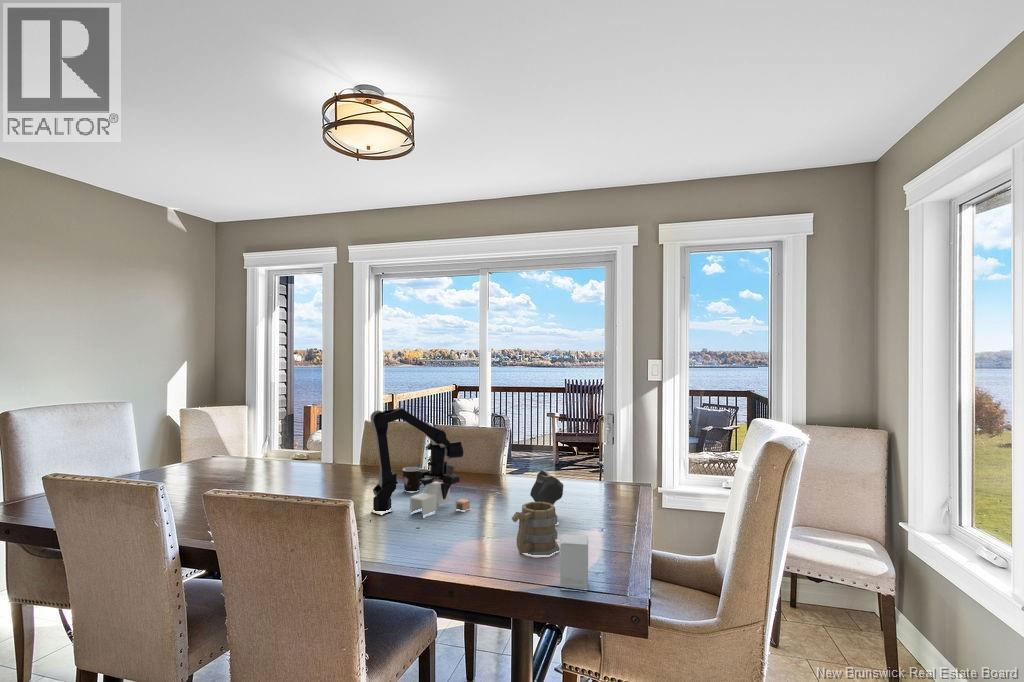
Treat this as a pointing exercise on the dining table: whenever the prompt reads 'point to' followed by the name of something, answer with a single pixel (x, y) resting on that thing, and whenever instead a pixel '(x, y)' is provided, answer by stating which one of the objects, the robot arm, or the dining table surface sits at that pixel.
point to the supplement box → (574, 561)
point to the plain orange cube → (462, 504)
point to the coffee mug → (411, 478)
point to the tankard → (537, 529)
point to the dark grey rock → (546, 488)
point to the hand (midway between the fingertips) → (437, 497)
